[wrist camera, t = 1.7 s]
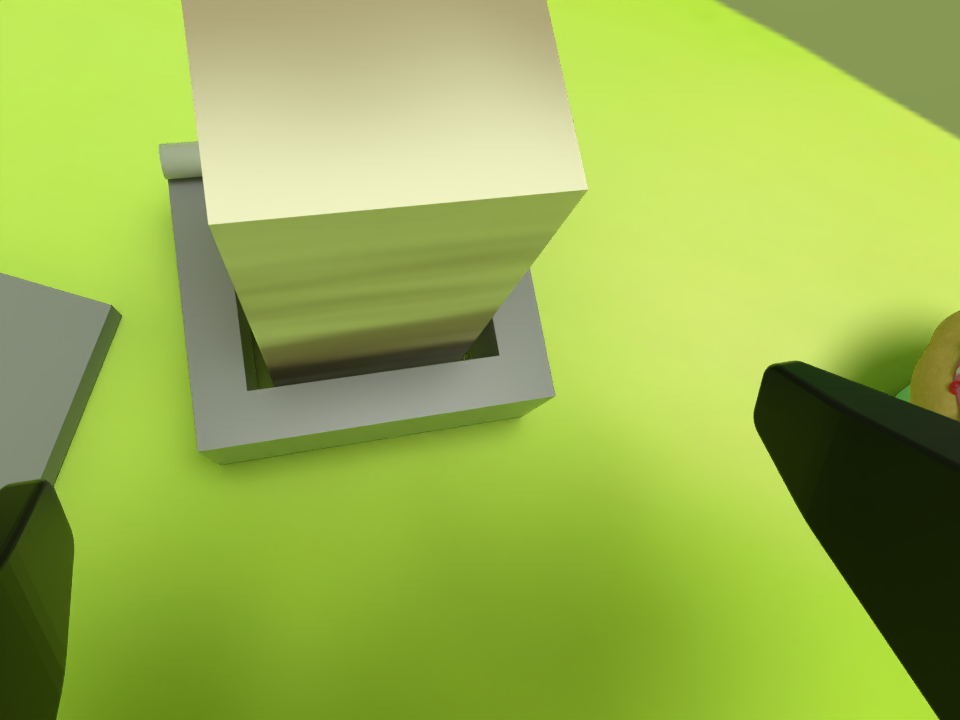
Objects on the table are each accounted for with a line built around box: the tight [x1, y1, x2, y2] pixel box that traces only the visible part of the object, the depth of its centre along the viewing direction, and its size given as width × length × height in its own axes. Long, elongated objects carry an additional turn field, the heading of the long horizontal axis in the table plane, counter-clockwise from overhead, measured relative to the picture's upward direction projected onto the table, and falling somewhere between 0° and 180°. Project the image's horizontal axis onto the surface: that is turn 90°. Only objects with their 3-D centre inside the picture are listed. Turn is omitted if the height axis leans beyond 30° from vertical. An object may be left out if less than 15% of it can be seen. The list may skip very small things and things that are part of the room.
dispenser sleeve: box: [159, 141, 555, 465], centre depth 20 cm, size 7×8×4 cm
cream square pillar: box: [181, 0, 588, 387], centre depth 16 cm, size 4×5×12 cm
